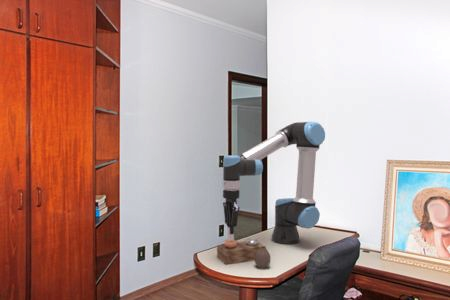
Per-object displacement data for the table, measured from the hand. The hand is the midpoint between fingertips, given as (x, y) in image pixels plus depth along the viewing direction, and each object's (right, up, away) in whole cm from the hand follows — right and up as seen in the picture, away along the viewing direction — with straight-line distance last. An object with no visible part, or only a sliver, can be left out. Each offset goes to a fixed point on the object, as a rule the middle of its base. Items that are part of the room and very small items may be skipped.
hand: (230, 240), depth 167 cm
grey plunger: (+10, -8, +5) cm, 13 cm away
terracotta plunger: (0, -7, 0) cm, 7 cm away
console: (+5, -9, +3) cm, 11 cm away
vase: (+14, -10, -8) cm, 19 cm away
